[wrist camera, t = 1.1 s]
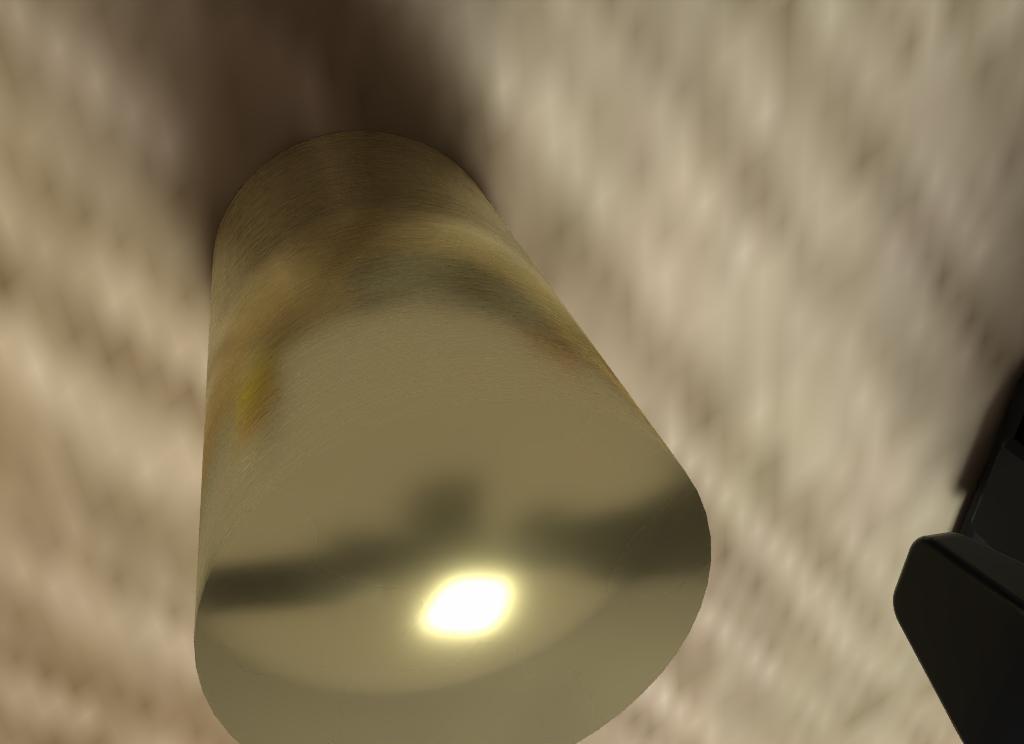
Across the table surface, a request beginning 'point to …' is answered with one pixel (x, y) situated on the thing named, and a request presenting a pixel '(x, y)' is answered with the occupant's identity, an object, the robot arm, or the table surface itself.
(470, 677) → the cylinder
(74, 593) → the table surface
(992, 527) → the robot arm
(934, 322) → the table surface
